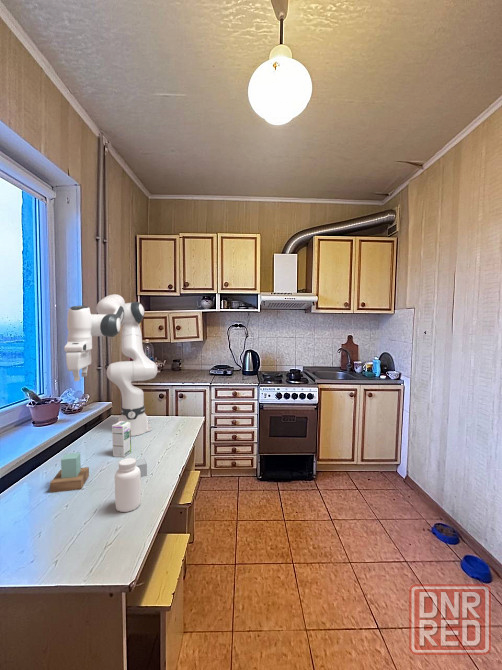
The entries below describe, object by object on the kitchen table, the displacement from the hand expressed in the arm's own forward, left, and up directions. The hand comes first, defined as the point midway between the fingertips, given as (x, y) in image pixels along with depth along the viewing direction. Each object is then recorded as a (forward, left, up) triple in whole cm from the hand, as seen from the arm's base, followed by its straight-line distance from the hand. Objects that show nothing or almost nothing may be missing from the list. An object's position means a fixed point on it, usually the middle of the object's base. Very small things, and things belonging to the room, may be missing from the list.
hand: (80, 378), depth 128 cm
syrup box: (-9, +14, -37) cm, 41 cm away
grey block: (+12, +24, -37) cm, 46 cm away
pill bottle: (+33, +23, -37) cm, 55 cm away
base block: (+14, 0, -38) cm, 40 cm away
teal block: (+14, 0, -34) cm, 36 cm away
